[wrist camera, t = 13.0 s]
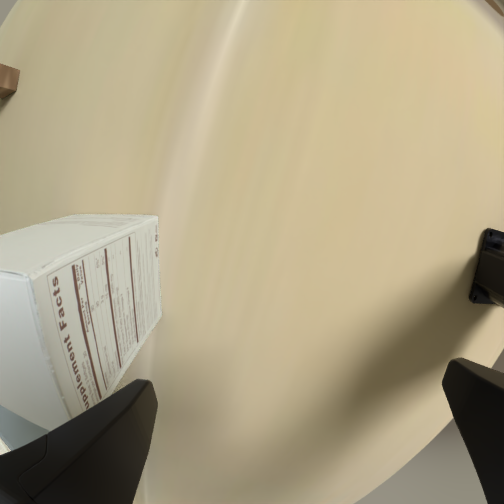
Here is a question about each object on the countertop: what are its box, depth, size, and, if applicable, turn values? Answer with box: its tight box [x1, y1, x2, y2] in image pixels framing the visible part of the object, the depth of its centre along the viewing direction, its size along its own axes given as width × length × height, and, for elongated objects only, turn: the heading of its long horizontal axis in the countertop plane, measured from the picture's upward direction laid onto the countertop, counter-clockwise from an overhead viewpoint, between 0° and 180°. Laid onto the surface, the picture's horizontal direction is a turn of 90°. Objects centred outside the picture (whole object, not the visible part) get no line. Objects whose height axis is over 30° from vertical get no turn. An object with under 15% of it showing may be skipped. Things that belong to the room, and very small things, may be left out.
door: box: [0, 405, 50, 451], centre depth 16 cm, size 16×2×10 cm, turn 11°
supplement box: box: [0, 214, 162, 431], centre depth 13 cm, size 7×7×13 cm
